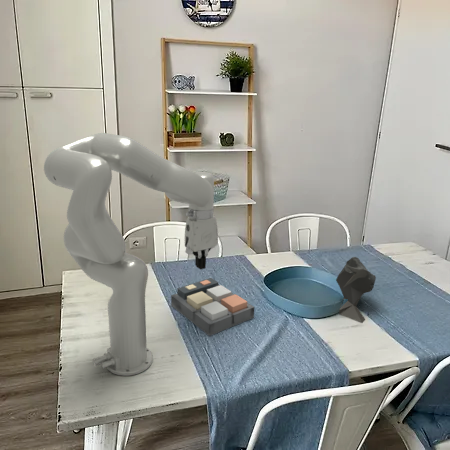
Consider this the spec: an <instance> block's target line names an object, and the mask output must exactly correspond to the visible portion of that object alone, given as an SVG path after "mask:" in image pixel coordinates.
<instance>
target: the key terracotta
mask: <svg viewBox="0 0 450 450" xmlns="http://www.w3.org/2000/svg"><path fill="white" fill-rule="evenodd" d="M234 294H235V293H234ZM247 303H248V301H247V300H246V299H244V298H242V297H241V296H239V295H238V294H235V295H232V296H229V297H226V298H223V299H221V305H223V306H224V307H226V308H227V309H228V311H230V312H231V313H232V314H233V313H235V312H238V311H240V310H243V309H245V308H247Z"/></svg>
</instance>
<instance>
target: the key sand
mask: <svg viewBox="0 0 450 450" xmlns="http://www.w3.org/2000/svg"><path fill="white" fill-rule="evenodd" d="M212 302H213V298H211V297H210V296H208V295H207V294H205V293H204V292H202V291H201V292H198V293H195V294H192V295H189V296H187V303H188V304H189V305H191V306H192V307H193V308H195V309H196V310H199V309H201V306H204V305H207V304H209V303H212Z"/></svg>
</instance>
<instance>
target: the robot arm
mask: <svg viewBox="0 0 450 450" xmlns="http://www.w3.org/2000/svg"><path fill="white" fill-rule="evenodd" d="M43 171H44V175H45V177H46V178H47V180H48V181H49V182H50V183H52V184H54V185H55V186H57V187H61V188H65V189H67V190H71V191H72V193H71V196H70V199H69V202H68V206H67V210H66V220H67V222H68V225H66V228H65V230H64V234H63V243H64V247H65V249H66V251H67V252H68V254H69V255H70V257H71V258H72V259H73V260H74V262H76V264H77V265H78V267H80V269H81V270H82V271H83V273H84V274H85V275H86V276H87V277H88V278H90V279H91V280H93V281H95V282H97V283H100V284H102V285H104V286H106V287H108V288H111V290H112V294H111V296H110V298H109V300H108V303H107V314H108V316H107V317H108V329H109V330H108V332H109V343H110V347H108V348H106V352H105V353H103V355H100V356H98V357H95V358H93V359H92V362H93V364H94V367H97V366H99V365H101V367H102V369H105V368H106V369H107V370H108V371H109V372H110V373H112V374H114V375H118V376H125V377H127V376H134V375H137V374H138V375H139V374H140V373H142V372H144V371H146V370H147V369H148V368H150V366H151V365H152V363H153V360H154V359H153V352H152V350H151V349H149V348H148V347H147V345H148V344H147V324H146V323H147V321H146V320H147V319H146V292H147V291H146V290H147V289H146V288H147V283H148V280H149V279H148V278H149V268H148V266H147V264H146V262H145V261H144V260H143V259H142V258H139V257H138V256H136V255H134V254H132V253H128V252H127V245H126V241H125V238H124V236H123V235H122V233H121V231H120V230H119V228H118V226H117V225H116V224H115V221H114V220H113V219H112V217H111V215H110V214H109V212H108V210H107V208H106V200H107V197H108V193H109V190H110V188H111V184H112V179H113V172H112V171H114V172H116V173H118V174H121V175H123V176H125V177H127V178H129V179H131V180H132V181H134V182H137V183H138V184H140V185H142V186H144V187H146V188H149V189H152V190H155V191H158V192H161V193H164V195H165V196H166V197H167V198H168V199H169V200H171V201H174V202H177V203H182V204H187V205H188V211H186V212H185V216H186V217H187V218H186V222H185V226H184V227H185V229H184V247H185V251H184V252H185V253H186V254H187V255H193V256H194V257H195V259H194V260H195V264H194V265H195V267H196V268H198V269H199V270H203V269H206V266H207V257H208V256H209V252H210V251H211V250H212V249H214V248H215V247H216V246H218V244H219V243H218V242H219V231H218V229H219V228H218V222H217V217H216V215H214V208H215V207H214V203H215V202H214V200H215V198H214V197H215V195H214V194H215V177H214V175H213V173H210V172H208V171H193V170H191V169H189V168H186V167H183V166H181V165H179V164H177V163H175V162H173V161H171V160H169V159H166V158H164V157H162V156H160V155H159V154H157V153H155V152H154V151H153V150H151V149H149V148H148V147H146V146H145V145H143V144H141V143H140V142H139V141H137V140H135V139H133V138H131V137H129V136H126V135H120V134H112V133H108V132H107V133H105V132H101V133H94V134H91V135H88V136H86V137H83V138H80V139H77V140H75V141H73V142H70V143H68V144H66V145H62V146H60V147H57V148H56V149H54V150H52V151H51V152H50V153H49V154H48V155H47V157H46V158H45V160H44V163H43Z"/></svg>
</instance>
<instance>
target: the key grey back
mask: <svg viewBox="0 0 450 450" xmlns="http://www.w3.org/2000/svg"><path fill="white" fill-rule="evenodd" d="M232 293H233V292H232V291H231V290H229V288H226V287H225V286H223V285H221V284H219V286H216V287H213V288H210V289H207V295H208V296H210V297H211V298H213V301H217V302H218V303H219V302H221V299H223V298H226V297H229V296H232Z"/></svg>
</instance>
